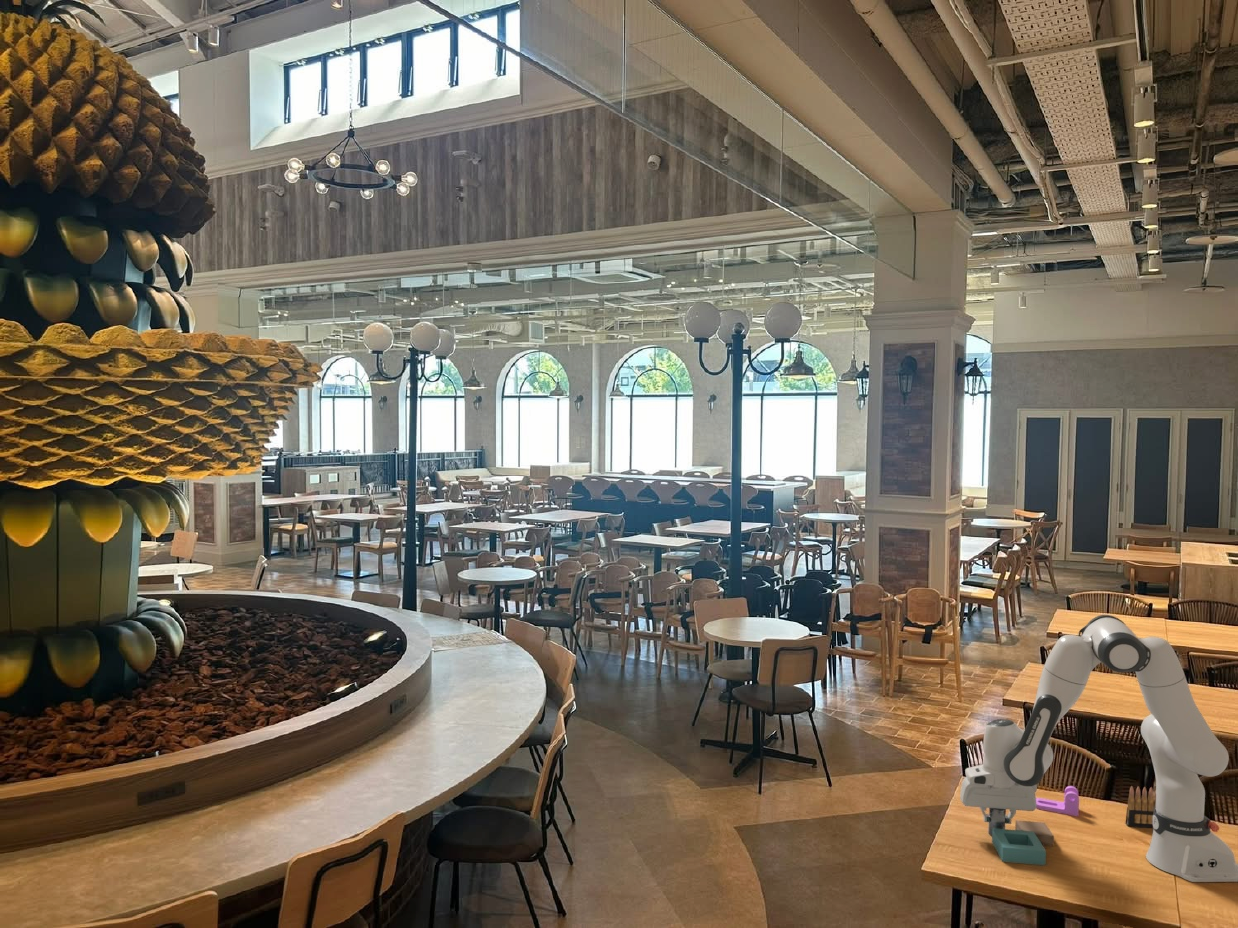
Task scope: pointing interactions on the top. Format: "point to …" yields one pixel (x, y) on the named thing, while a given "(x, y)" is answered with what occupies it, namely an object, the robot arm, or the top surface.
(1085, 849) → the top surface
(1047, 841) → the wooden block
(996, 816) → the grey cylinder
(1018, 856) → the hole block
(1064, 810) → the bracket
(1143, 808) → the ammunition clip
